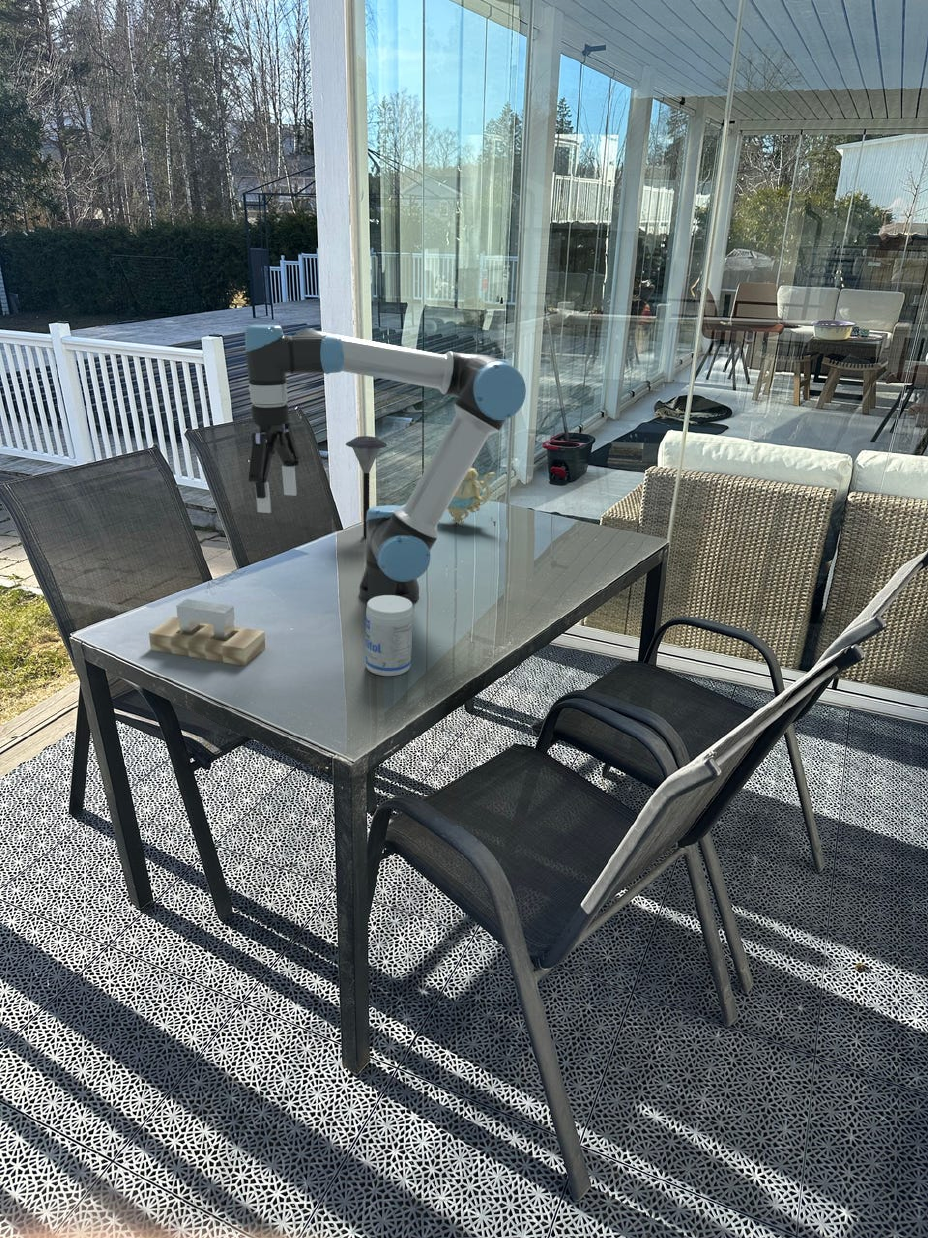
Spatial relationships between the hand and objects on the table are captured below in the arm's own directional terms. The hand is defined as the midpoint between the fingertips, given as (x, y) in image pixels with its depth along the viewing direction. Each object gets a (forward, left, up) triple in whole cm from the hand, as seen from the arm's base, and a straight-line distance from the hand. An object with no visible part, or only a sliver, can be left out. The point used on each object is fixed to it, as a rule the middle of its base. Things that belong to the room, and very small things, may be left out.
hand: (278, 503), depth 178 cm
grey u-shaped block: (+9, +18, -29) cm, 35 cm away
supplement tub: (-30, +13, -29) cm, 44 cm away
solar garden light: (+5, -67, -29) cm, 73 cm away
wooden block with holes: (+9, +18, -29) cm, 35 cm away
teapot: (-18, -90, -29) cm, 96 cm away
